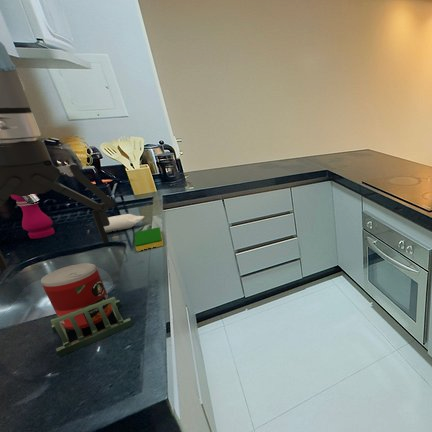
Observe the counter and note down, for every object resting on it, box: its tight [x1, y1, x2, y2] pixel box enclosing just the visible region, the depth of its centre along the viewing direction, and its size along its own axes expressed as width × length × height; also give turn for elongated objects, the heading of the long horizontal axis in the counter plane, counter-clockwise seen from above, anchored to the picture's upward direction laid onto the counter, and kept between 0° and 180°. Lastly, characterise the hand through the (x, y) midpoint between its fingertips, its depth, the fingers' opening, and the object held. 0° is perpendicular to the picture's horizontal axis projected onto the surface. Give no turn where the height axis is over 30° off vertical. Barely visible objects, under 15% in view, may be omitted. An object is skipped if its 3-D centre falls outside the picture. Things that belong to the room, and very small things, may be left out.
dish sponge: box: [134, 227, 164, 252], centre depth 102 cm, size 7×14×2 cm, turn 38°
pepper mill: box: [10, 194, 56, 240], centre depth 104 cm, size 7×7×20 cm
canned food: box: [40, 262, 113, 330], centre depth 60 cm, size 8×8×11 cm
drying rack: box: [50, 296, 133, 358], centre depth 61 cm, size 11×11×8 cm
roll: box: [104, 213, 145, 234], centre depth 112 cm, size 6×12×6 cm, turn 127°
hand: (59, 253), depth 57 cm, fingers open, 13 cm apart
